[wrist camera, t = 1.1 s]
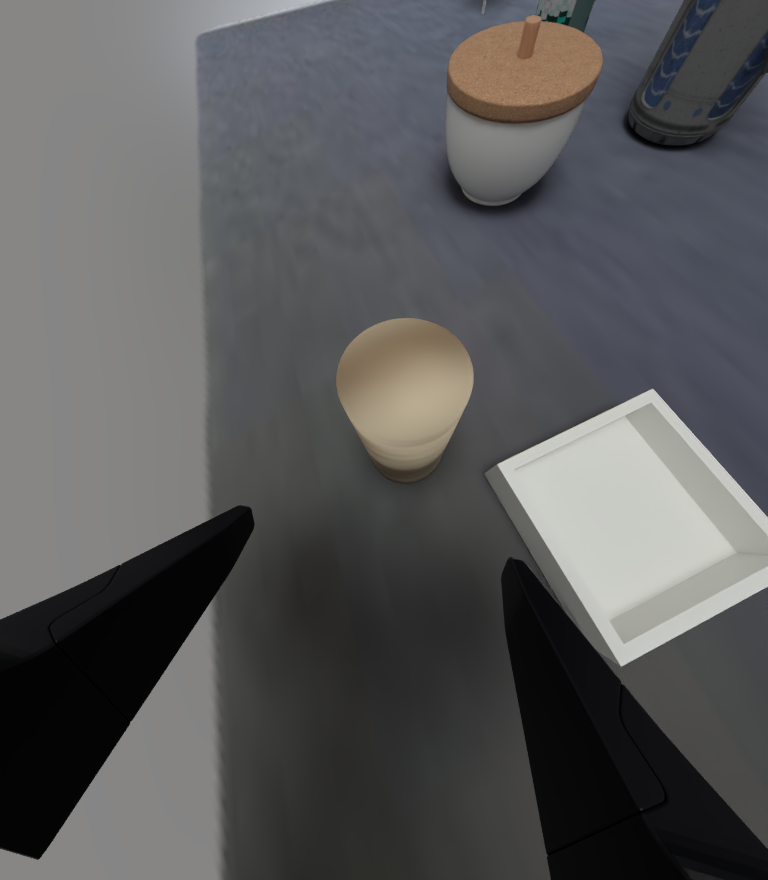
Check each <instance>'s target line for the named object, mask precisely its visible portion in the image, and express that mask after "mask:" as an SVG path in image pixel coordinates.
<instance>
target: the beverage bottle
mask: <svg viewBox="0 0 768 880" xmlns="http://www.w3.org/2000/svg"><path fill="white" fill-rule="evenodd" d="M767 72H768V0H684V2H683V4H682V5H681V7H680V9H679V11H678V13H677V15H676V17H675V19H674V21H673V23H672V24H671V26H670V28H669V30H668V32H667V34H666V36H665V38H664V40H663V42H662V43H661V45H660V47H659V49H658V51H657V53H656V55H655V57H654V59H653V61H652V63H651V64H650V66H649V68H648V70H647V72H646V74H645V76H644V78H643V80H642V82H641V83H640V85H639V87H638V89H637V91H636V93H635V95H634V97H633V99H632V101H631V104H630V111H629V123H630V126H631V127H632V128H633V129H635V132H636V133H637V134H639V135H640V136H642V137H643V138H645V139H647V140H649V141H651V142H654V143H658V144H663V145H688V144H693V143H695V142H696V143H697V142H700V141H703V140H704V139H706V138H708V137H709V136H711V135H712V134H714V133H715V132H716V131H718V130H719V129H720V128H722V127H723V126H724V125H725V124H726V123H727V122H728V121H729V120H730V118H731V117H732V116H733V114H734V113H735V112H736V111H737V109H738V108H739V107H740V106H741V104H742V103H743V102H744V101H745V99H746V98H747V97H748V96H749V94H750V93H751V92H752V90H753V89H754V88H755V87H756V85H757V84H758V83H759V82H760V80H761V79H762V78H763V77H764V75H765V74H766V73H767Z"/></svg>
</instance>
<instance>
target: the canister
mask: <svg viewBox="0 0 768 880" xmlns="http://www.w3.org/2000/svg"><path fill="white" fill-rule="evenodd" d="M473 378H474V376H473V367H472V363H471V360H470V357H469V355H468V353H467V351H466V349H465V347H464V346H463V345H462V343H461V342H460V341H459V340H458V339H457V338H456V337H455V336H454V335H453V334H452V333H450V332H449V331H448V330H446V329H444V328H443V327H441V326H439V325H437V324H434V323H432V322H429V321H425V320H420V319H413V318H399V319H393V320H388V321H384V322H381V323H379V324H376V325H374V326H372V327H370V328H368V329H367V330H365V331H364V332H362V333H361V334H360V335H358V336H357V337H356V338H355V339H354V340H353V341H352V342H351V343H350V344H349V346H348V347H347V349H346V350H345V352H344V353H343V355H342V357H341V360H340V362H339V365H338V370H337V377H336V384H337V391H338V396H339V398H340V401H341V404H342V405H343V407H344V409H345V411H346V413H347V415H348V417H349V418H350V420H351V422H352V424H353V426H354V428H355V430H356V431H357V433H358V435H359V437H360V439H361V441H362V443H363V445H364V446H365V448H366V450H367V452H368V454H369V456H370V458H371V459H372V461H373V463H374V465H375V467H376V468H377V470H378V471H379V472H380V473H381V474H382V475H383V476H385V477H386V478H388V479H389V480H392V481H394V482H398V483H414V482H418V481H420V480H423V479H424V478H426V477H427V476H429V475H430V474H431V473H432V472H433V471H434V469H435V468H436V467H437V465H438V463H439V461H440V459H441V457H442V455H443V453H444V450H445V448H446V446H447V444H448V442H449V440H450V438H451V436H452V434H453V432H454V430H455V428H456V425H457V423H458V421H459V419H460V417H461V415H462V413H463V411H464V409H465V407H466V405H467V403H468V400H469V398H470V395H471V392H472V388H473Z"/></svg>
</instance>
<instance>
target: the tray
mask: <svg viewBox="0 0 768 880" xmlns="http://www.w3.org/2000/svg"><path fill="white" fill-rule="evenodd" d="M484 475H485V477H486V478H487V480H488V482H489V483H490V485H491V487H492V488H493V490H494V492H495V494H496V495H497V497H498V499H499V500H500V502H501V504H502V505H503V507H504V509H505V510H506V512H507V514H508V516H509V517H510V519H511V521H512V522H513V524H514V526H515V527H516V529H517V531H518V532H519V534H520V536H521V538H522V539H523V541H524V543H525V544H526V546H527V548H528V549H529V551H530V553H531V554H532V556H533V558H534V560H535V561H536V563H537V565H538V566H539V568H540V570H541V571H542V573H543V575H544V576H545V578H546V580H547V581H548V583H549V585H550V587H551V588H552V590H553V592H554V593H555V595H556V597H557V598H558V600H559V602H560V603H561V605H562V607H563V609H564V610H565V612H566V613H567V615H568V616H569V617H570V618H571V620H572V621H573V622H574V623H575V625H576V626H577V627H578V628H579V630H580V631H581V632H582V633H583V635H584V636H585V637H586V638H587V639H588V641H589V642H590V643H591V644H592V646H593V647H594V648H595V649H596V650H597V651H598V652H600V653H601V654H603V655H604V656H606V657H607V658H609V659H610V660H612V661H613V662H615V663H617V664H618V665H620V666H623V665H625V664H627V663H629V662H631V661H632V660H634V659H636V658H638V657H640V656H642V655H643V654H645V653H647V652H649V651H651V650H653V649H654V648H656V647H658V646H660V645H662V644H664V643H665V642H667V641H669V640H671V639H673V638H674V637H676V636H678V635H680V634H682V633H684V632H685V631H687V630H689V629H691V628H693V627H695V626H696V625H698V624H700V623H702V622H704V621H706V620H707V619H709V618H711V617H713V616H715V615H717V614H718V613H720V612H722V611H724V610H726V609H728V608H729V607H731V606H733V605H735V604H737V603H739V602H740V601H742V600H744V599H746V598H748V597H749V596H751V595H753V594H755V593H757V592H759V591H760V590H762V589H764V588H766V587H768V517H767V516H766V515H765V514H764V513H763V512H762V511H761V509H760V508H759V507H758V506H757V505H756V504H755V503H754V502H753V501H752V499H751V498H750V497H749V496H748V495H747V494H746V493H745V492H744V490H743V489H742V488H741V487H740V486H739V485H738V484H737V483H736V481H735V480H734V479H733V478H732V477H731V476H730V475H729V474H728V472H727V471H726V470H725V469H724V468H723V467H722V466H721V465H720V463H719V462H718V461H717V460H716V459H715V458H714V457H713V456H712V454H711V453H710V452H709V451H708V450H707V449H706V448H705V447H704V445H703V444H702V443H701V442H700V441H699V440H698V439H697V438H696V437H695V435H694V434H693V433H692V432H691V431H690V430H689V429H688V428H687V426H686V425H685V424H684V423H683V422H682V421H681V420H680V419H679V417H678V416H677V415H676V414H675V413H674V412H673V411H672V410H671V408H670V407H669V406H668V405H667V404H666V403H665V402H664V401H663V399H662V398H661V397H660V396H659V395H658V394H657V393H656V392H655V390H654V389H651V390H649V391H647V392H645V393H643V394H641V395H639V396H637V397H635V398H633V399H631V400H629V401H627V402H625V403H622V404H620V405H618V406H616V407H614V408H612V409H610V410H608V411H606V412H604V413H602V414H600V415H598V416H596V417H594V418H592V419H590V420H587V421H585V422H583V423H581V424H579V425H577V426H575V427H573V428H571V429H569V430H567V431H565V432H563V433H561V434H559V435H557V436H555V437H552V438H550V439H548V440H546V441H544V442H542V443H540V444H538V445H536V446H534V447H532V448H530V449H528V450H526V451H524V452H522V453H519V454H517V455H515V456H513V457H511V458H509V459H507V460H505V461H503V462H501V463H499V464H497V465H495V466H494V467H493V468H491V469H490V470H488V471H487V472H485V473H484Z"/></svg>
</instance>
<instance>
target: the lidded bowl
mask: <svg viewBox="0 0 768 880" xmlns="http://www.w3.org/2000/svg"><path fill="white" fill-rule="evenodd" d="M541 20H542V18H541V17H540V16H536V15H533V16H529V17H527V18H526V20H525V21H522V22H512V23H507V24H502V25H498V26H494V27H491V28H488V29H486V30H483V31H481V32H479V33H477V34H475V35H473V36H471V37H470V38H468V39H467V40H465V41H464V42H463V43H462V44H460V45H459V46H458V48H457V49H456V50H455V51H454V53H453V55H452V56H451V58H450V61H449V64H448V72H447V101H446V116H445V140H446V152H447V156H448V161H449V165H450V168H451V171H452V173H453V175H454V177H455V179H456V181H457V182H458V184H459V185H460V186H461V189H462V192H463V194H464V195H465V196H466V197H467V198H468V199H469V200H471V201H472V202H475V203H477V204H480V205H485V206H500V205H505V204H508V203H510V202H512V201H514V200H516V199H517V198H518V197H519V196H520V195H521V194H522V193H523V192H525V191H526V190H528V189H529V188H530V187H532V186H533V185H534V184H536V183H537V182H538V181H539V180H540V179H541V178H542V177H543V176H544V175H545V174H546V173H547V172H548V170H549V169H550V168H551V166H552V165H553V164H554V163H555V161H556V160H557V158H558V156H559V155H560V153H561V151H562V150H563V148H564V147H565V145H566V143H567V141H568V140H569V138H570V136H571V134H572V132H573V130H574V128H575V126H576V124H577V122H578V119H579V117H580V115H581V113H582V110H583V108H584V106H585V103H586V101H587V98H588V96H589V95H590V93H591V92H592V90H593V88H594V86H595V84H596V82H597V79H598V77H599V75H600V72H601V69H602V62H603V58H602V53H601V49H600V48H599V46H598V45H597V43H596V42H595V41H594V40H593V39H592V38H591V37H589V36H588V35H586V34H585V33H583V32H581V31H579V30H577V29H575V28H572V27H569V26H566V25H562V24H559V23H553V22H544V21H541Z"/></svg>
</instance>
